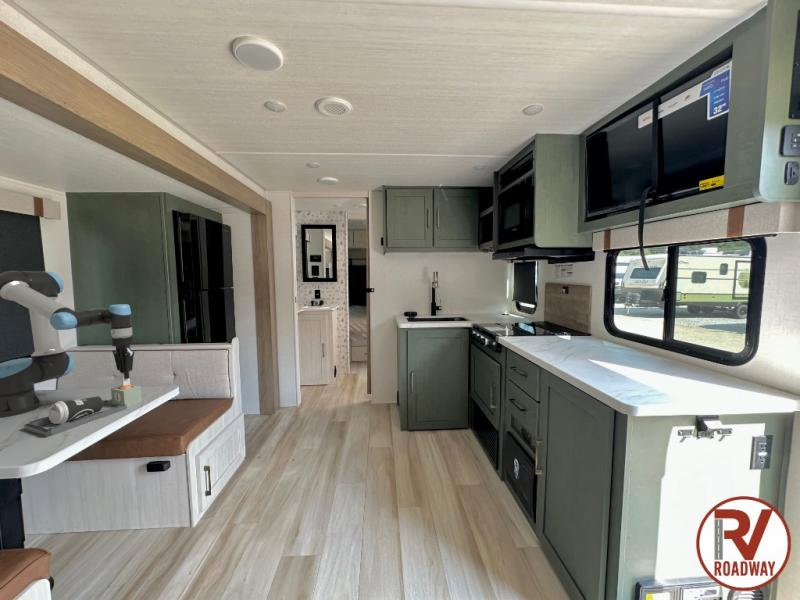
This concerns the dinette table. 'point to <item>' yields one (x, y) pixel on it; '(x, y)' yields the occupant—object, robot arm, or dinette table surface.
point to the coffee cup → (73, 409)
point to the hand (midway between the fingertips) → (125, 385)
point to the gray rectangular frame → (35, 425)
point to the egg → (125, 387)
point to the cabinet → (126, 395)
